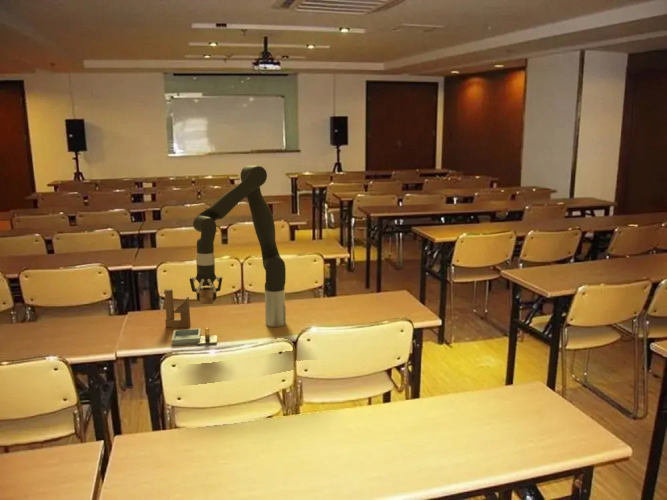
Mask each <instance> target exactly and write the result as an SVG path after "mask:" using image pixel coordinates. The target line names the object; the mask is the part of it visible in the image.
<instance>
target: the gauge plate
mask: <svg viewBox="0 0 667 500" xmlns="http://www.w3.org/2000/svg"><path fill="white" fill-rule="evenodd" d="M217 344H218V335H216V334H214V335H211V334H210V328H209V327H204V335H201V336H200V341H198V344H197V346H198V347H199V346H200V347H201V346H210V345H211V346H213V345H217Z"/></svg>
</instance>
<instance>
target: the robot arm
mask: <svg viewBox="0 0 667 500" xmlns="http://www.w3.org/2000/svg"><path fill="white" fill-rule="evenodd" d="M267 178H268V173H267V170H266V169H265V167H263V166H260V165H245V166H244V167H243V168H242V169H241V171H240V181H241V182H240V183H239V184H238V185H237V186H235V187H234V188H232V189H230V190H229V191H227V192H226V193H224V194H222V196H220V197H219V198H218V199H217V200H216V201H215V202H214V203H213V204H212V205H211V206H210V207H208V208H206V209H205V210H203V211H202V212H200V213H199V214H197V216H196V217H195V218H194V219H193V223H192V227H193V229H194V230H195V231H197V232H199V233H200V238H198V239H197V241H196V259H195V260H196V261H195V263H196V276H193V277H192V276H190V277H189V283H190V287H191V292H192V293H196V300H197V301H198V302H200V295H199V290H200V289H201V287H211V288H212V289H213V302H214V301H216V299H217V292H220V291H221V289H222V283H223V276H217V275H216V268H215V267H216V263H215V262H216V259H215V252H214V251H215V248H214V247H215V246H214V242H215V238H216V234H217V233H216V232H217V223H216V221H217V220H222V219H224V218H225V217H226V216H227V215H228V214H229V213H230V212H231V211H232V210H233V209H234V208H235V207H236V206H237V205H238V204H239V203H240V202H242V201H243V200H244V199H245V198H247V201H248V206H249V211H250V213H251V214H250V215H251V219H252V224H253V227H254V230H255V234H256V237H257V240H258V243H259V247H260V251H261V259H262V266H263V268H264V270H265V283H264V308H265V313H264V314H265V315H264V316H265V325H266V326H267V327H270V328H276V327H277V328H279V327H284V326H286V325H287V321H286V315H287V312H286V310H287V309H286V302H285V301H286V300H285V299H286V296H285V294H286V292H285V289H286V288H285V287H286V286H285V285H286V281H287V280H286V279H287V278H286V264H285V261H284V259H283V258H282V257H281V256H280V252H279V250H278V249H279V248H278V246H277V243H276V242H277V241H276V225H275V220H274V217H273V213H272V210H271V208H270V206H269V204H268V203H267V201H266V200H265V197H264V196H263V194H262V191H261V186H263V185H264V184H265V183H266V181H267ZM196 281H197V282H198V286H197V287H196V286H195V282H196ZM215 281H217V283H218V284H217V287H216V286H215V283H214V282H215Z"/></svg>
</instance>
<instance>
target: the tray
mask: <svg viewBox="0 0 667 500" xmlns="http://www.w3.org/2000/svg"><path fill="white" fill-rule="evenodd" d="M201 329H202V328H187V329H185V328H183V329H174V330H173V333H172V337H171V346H183V345H184V346H185V345H186V346H187V345H198V341H200V336H202V331H201Z"/></svg>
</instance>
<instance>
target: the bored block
mask: <svg viewBox="0 0 667 500" xmlns="http://www.w3.org/2000/svg"><path fill="white" fill-rule="evenodd" d="M199 295H200V301H199V305H211V304H212V305H214V301H213V289H212V288H211V286H202V287H201V289H200V290H199Z"/></svg>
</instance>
